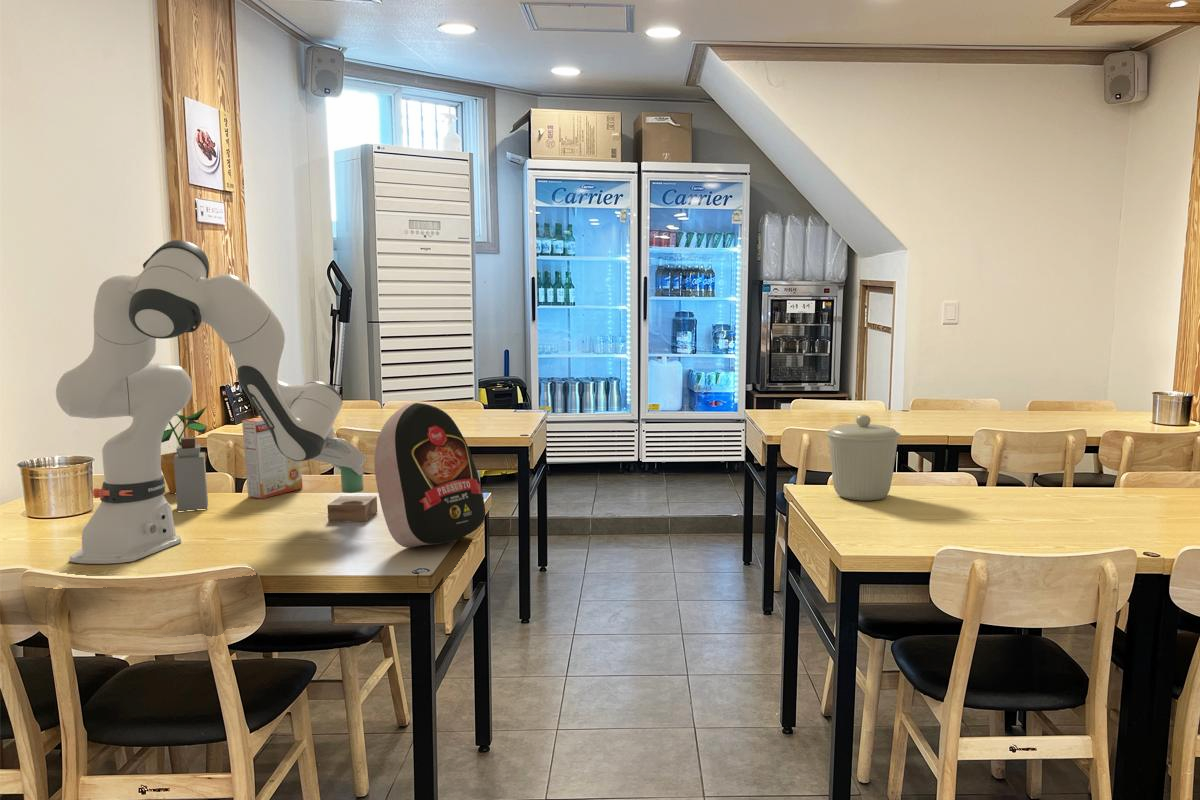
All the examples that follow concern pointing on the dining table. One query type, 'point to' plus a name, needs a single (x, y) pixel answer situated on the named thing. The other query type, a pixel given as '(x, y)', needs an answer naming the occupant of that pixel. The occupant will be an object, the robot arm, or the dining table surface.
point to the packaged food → (426, 478)
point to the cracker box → (267, 463)
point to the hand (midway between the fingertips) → (353, 471)
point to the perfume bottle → (190, 476)
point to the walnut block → (352, 508)
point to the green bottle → (351, 481)
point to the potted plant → (168, 459)
